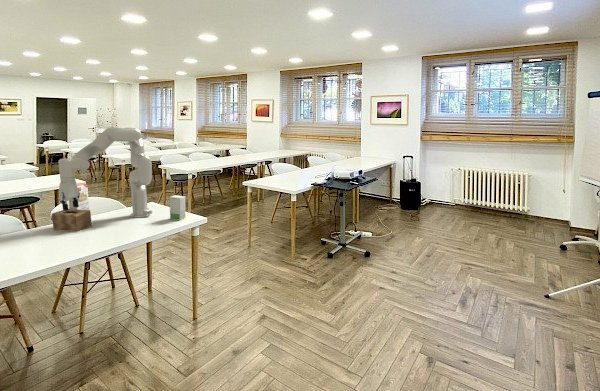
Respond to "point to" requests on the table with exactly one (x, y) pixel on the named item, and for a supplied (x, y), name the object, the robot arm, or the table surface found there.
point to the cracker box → (81, 198)
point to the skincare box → (177, 207)
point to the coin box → (71, 220)
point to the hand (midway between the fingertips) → (70, 208)
